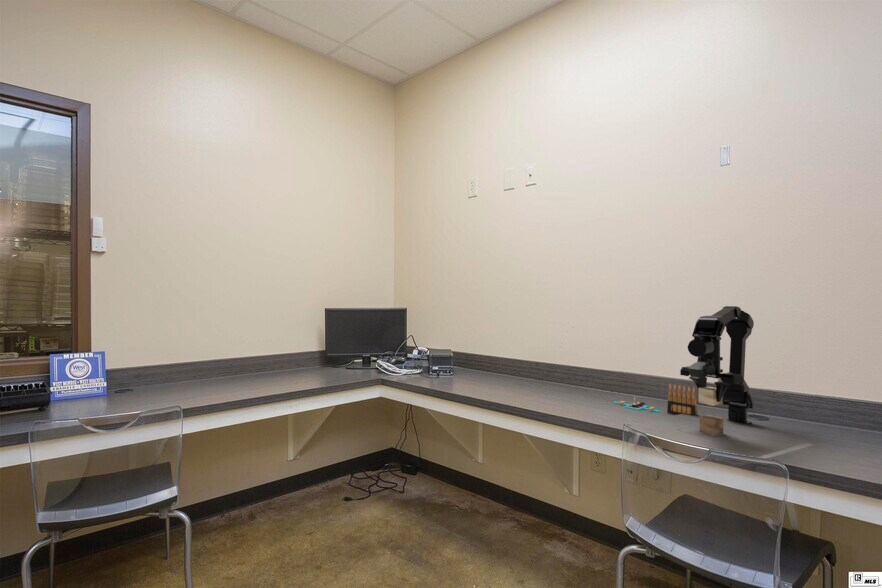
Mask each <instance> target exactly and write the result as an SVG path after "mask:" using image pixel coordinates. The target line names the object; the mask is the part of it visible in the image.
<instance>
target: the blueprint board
mask: <svg viewBox="0 0 882 588" xmlns="http://www.w3.org/2000/svg"><path fill="white" fill-rule="evenodd" d="M698 426H699V427H700V424H695V425H693V426H688V427H682V428H679V429H676V431H679V432H682V433H686V434H690V435H693V436H696V437H700V438H704V439H707V440H710V441H713V442H717V443H722V442H723V443H724V442H727V441H732V440H736V439H740V438H744V437H748V435H747V434H743V433H741V432H736V431H733V430H729V429H725V428H723V431H729V432H733V433H736V434H739V435H741V436H738V437H737V436H736V437H734V438H729V439H726V440H721V441H717V440H714V439H711V438H707V437H704V436H700V435H697V434H694V433H691V432H687V431H684V430H685V429H689V428H694V427H698ZM696 432H698V433H701V434H704V435H707V436H711V437H719V436H724V435H727V433H726V432H723V434H719V435H710V434H707V433H703V432H700V429H699V430H696Z"/></svg>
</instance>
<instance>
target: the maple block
mask: <svg viewBox="0 0 882 588" xmlns="http://www.w3.org/2000/svg"><path fill="white" fill-rule="evenodd" d="M698 403H699V404H702V405H703V404H704V405H708V406H712V407H714V406H718V405H719V406H720V405H723V401H722V399H721V400H720V402H717V399H716V387H713V386H706V387H701V388H699V390H698Z"/></svg>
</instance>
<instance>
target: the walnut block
mask: <svg viewBox="0 0 882 588" xmlns="http://www.w3.org/2000/svg"><path fill="white" fill-rule="evenodd" d="M698 419H699V420H698V421H699V430H700V432H703V433H702V434H704V433H707V434H710V435H709V436H711V435H719V434H723V433H724V418H723V417H719V416H714V415H710V414H708V415H703V416H702V415H701V416H699V418H698ZM700 432H699V433H700ZM707 434H706V435H707Z"/></svg>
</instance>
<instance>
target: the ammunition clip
mask: <svg viewBox="0 0 882 588" xmlns="http://www.w3.org/2000/svg"><path fill="white" fill-rule="evenodd" d="M668 385H669V386H668V393H667V396H668V397H667V409H666V410H667V411H666V414H670V415H676V416H677V415H683V414H684V415H689V416H695V417H696V416H698V405H697V394H696V388H695V386H693V387H692V390H691V387H690V386H689V385H688V387H687V388H686V385H683V388H682V386H681V384H679V385H678V387H677V385H676V384H673V387H672V383H669V384H668ZM686 389H687V390H686Z"/></svg>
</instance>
